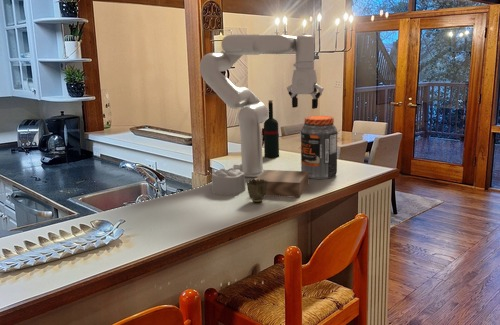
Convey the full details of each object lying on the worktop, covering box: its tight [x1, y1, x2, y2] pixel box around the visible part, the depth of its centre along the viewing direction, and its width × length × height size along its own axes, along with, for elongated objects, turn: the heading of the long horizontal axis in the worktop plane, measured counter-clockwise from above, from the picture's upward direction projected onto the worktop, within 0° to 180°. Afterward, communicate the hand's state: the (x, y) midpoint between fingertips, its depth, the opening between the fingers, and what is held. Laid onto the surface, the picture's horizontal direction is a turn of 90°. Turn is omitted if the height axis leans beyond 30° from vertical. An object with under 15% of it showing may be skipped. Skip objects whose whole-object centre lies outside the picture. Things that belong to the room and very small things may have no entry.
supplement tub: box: [300, 115, 338, 180], centre depth 201 cm, size 16×16×26 cm
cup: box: [246, 178, 267, 204], centre depth 167 cm, size 8×7×8 cm
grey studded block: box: [211, 167, 246, 196], centre depth 183 cm, size 10×13×9 cm
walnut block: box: [254, 169, 309, 198], centre depth 183 cm, size 18×18×6 cm
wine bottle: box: [261, 99, 280, 159], centre depth 243 cm, size 8×10×30 cm
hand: (304, 107), depth 193 cm, fingers open, 9 cm apart
